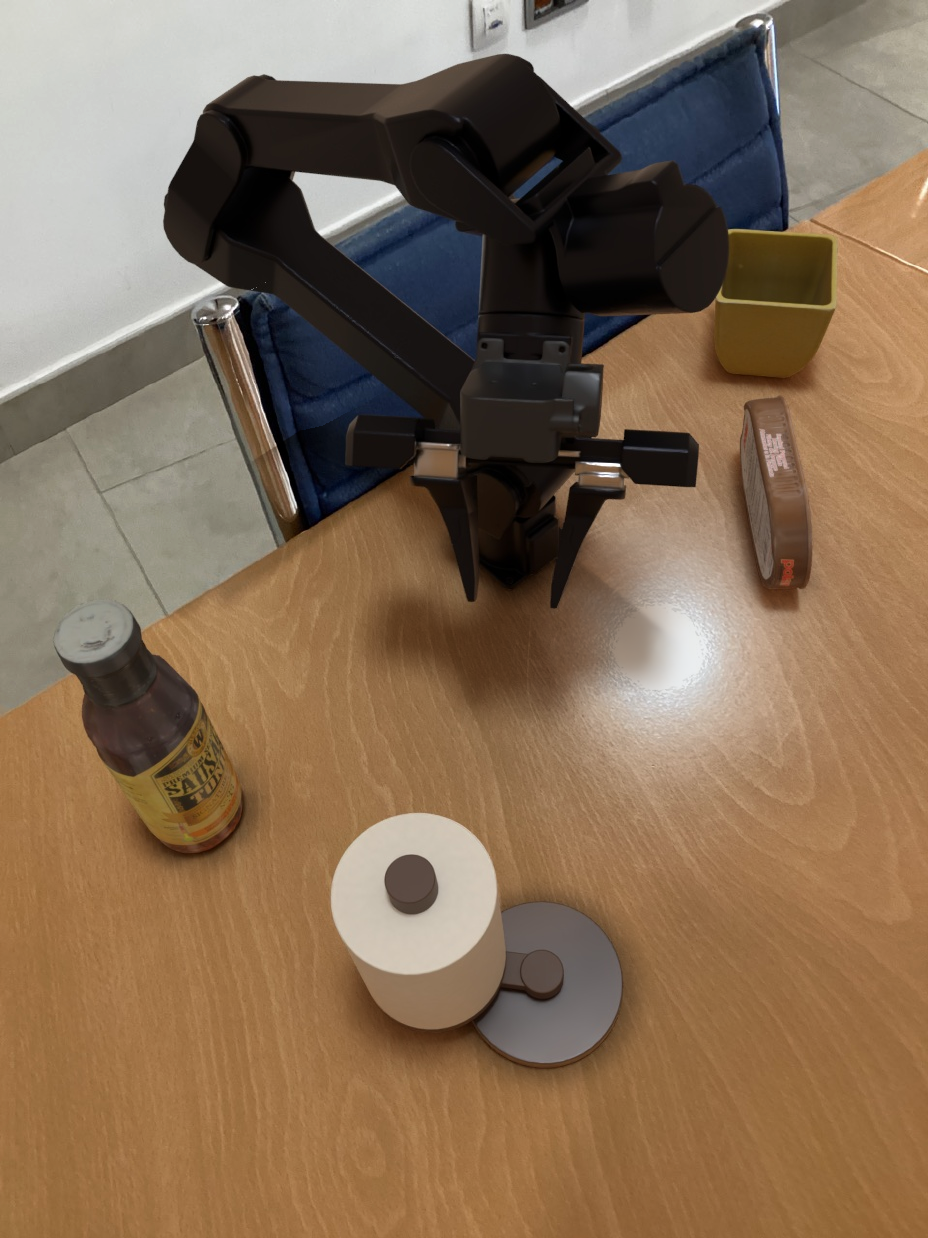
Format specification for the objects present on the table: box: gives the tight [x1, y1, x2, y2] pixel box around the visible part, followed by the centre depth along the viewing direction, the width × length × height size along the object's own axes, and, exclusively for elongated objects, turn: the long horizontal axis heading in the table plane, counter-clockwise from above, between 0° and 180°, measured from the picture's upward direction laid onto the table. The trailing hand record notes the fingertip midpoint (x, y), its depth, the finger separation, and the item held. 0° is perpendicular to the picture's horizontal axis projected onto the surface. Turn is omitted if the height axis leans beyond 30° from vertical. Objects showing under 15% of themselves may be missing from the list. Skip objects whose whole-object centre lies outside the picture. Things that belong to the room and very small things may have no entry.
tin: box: [739, 395, 814, 590], centre depth 74 cm, size 15×3×8 cm, turn 179°
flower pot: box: [713, 228, 839, 379], centre depth 84 cm, size 9×9×9 cm
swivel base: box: [471, 900, 624, 1069], centre depth 60 cm, size 9×9×1 cm
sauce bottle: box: [52, 598, 244, 854], centre depth 60 cm, size 7×6×20 cm
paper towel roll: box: [329, 812, 564, 1033], centre depth 54 cm, size 10×9×13 cm
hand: (512, 604), depth 60 cm, fingers open, 4 cm apart
